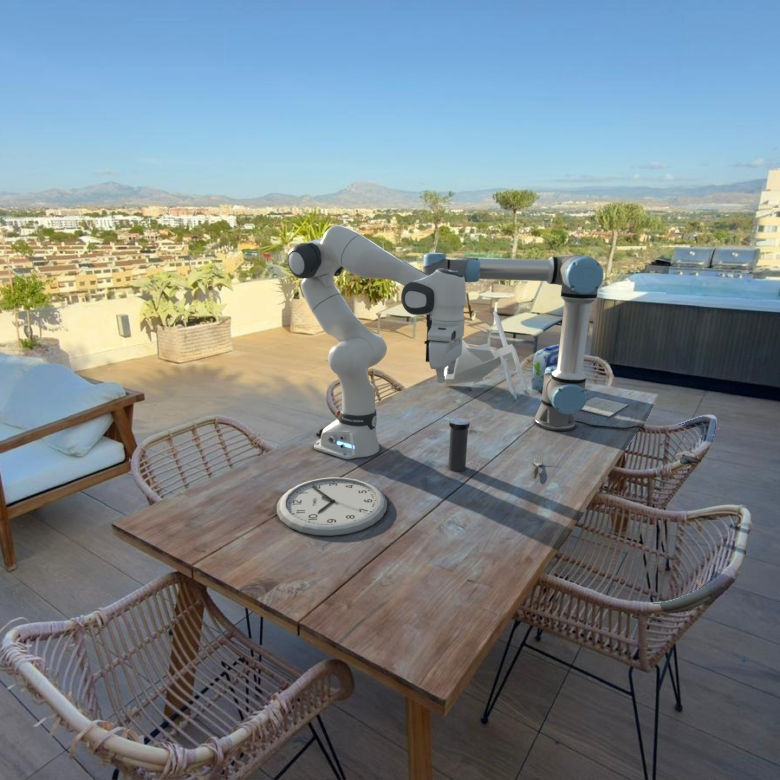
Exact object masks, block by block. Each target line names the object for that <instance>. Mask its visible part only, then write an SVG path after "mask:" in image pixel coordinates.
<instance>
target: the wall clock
mask: <svg viewBox="0 0 780 780" xmlns="http://www.w3.org/2000/svg"><path fill="white" fill-rule="evenodd" d="M387 509H388V500H387V498H386V496H385V494H384V493H383V492H382V491H381V490H380V489H379V488H377V487H376V486H374V485H372V484H371V483H369V482H365V481H362V480H359V479H355V478H349V477H338V476H337V477H335V476H333V477H332V476H331V477H322V478H317V479H312V480H307V481H305V482H302V483H299V484H297V485H295V486H293V487H292V488H290V489H288V490H287V491H286V492H285V493H284V494H283V495H281V496H280V498H279V499H278V502H277V503H276V515H277V517H278V518H279V520H280V521H281V522H282V523H283V524H285V525H286V526H287V527H288V528H290V529H293V530H295V531H297V532H299V533H303V534H308V535H312V536H327V537H328V536H329V537H331V536H332V537H333V536H342V535H350V534H352V533H356V532H361V531H363V530H366V529H368V528H369V527H372V526H373V525H375V524H376V523H378V522H379V521H380V520H381V519H382V518H383V517H384V516H385V514H386V512H387Z"/></svg>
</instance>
